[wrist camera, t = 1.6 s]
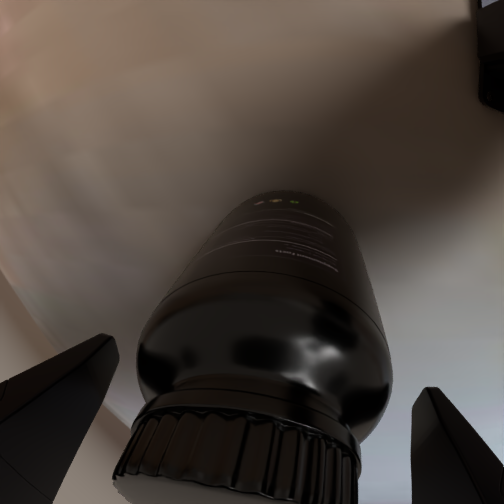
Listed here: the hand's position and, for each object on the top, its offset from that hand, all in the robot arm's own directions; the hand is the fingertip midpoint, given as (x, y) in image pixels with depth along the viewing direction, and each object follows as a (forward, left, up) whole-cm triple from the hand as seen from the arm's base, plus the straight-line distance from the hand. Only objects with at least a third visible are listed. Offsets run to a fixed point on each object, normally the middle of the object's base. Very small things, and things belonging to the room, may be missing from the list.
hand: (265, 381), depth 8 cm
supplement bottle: (0, 0, -8) cm, 8 cm away
